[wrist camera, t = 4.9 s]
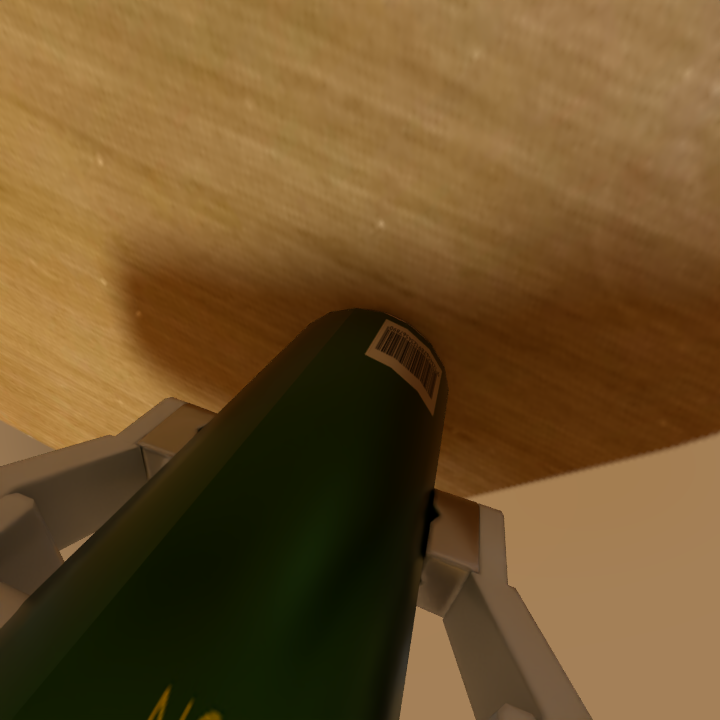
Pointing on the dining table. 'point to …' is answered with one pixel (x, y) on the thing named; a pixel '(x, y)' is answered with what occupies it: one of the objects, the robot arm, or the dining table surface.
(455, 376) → the dining table surface
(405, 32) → the dining table surface
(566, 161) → the dining table surface
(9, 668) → the beer can
